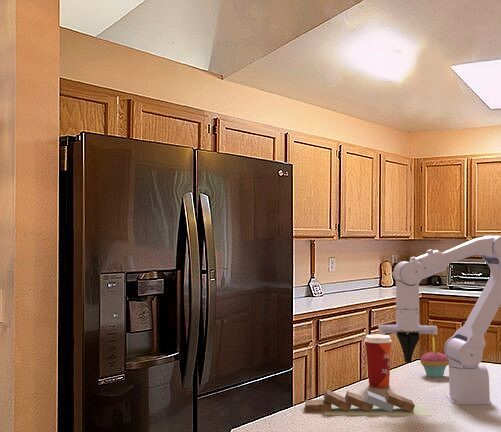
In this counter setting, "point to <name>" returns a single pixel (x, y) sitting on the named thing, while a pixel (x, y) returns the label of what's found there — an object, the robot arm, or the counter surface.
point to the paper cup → (378, 359)
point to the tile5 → (317, 406)
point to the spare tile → (378, 401)
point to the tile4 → (336, 400)
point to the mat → (380, 411)
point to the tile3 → (358, 401)
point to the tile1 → (399, 401)
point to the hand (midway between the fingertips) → (407, 362)
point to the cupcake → (434, 362)
